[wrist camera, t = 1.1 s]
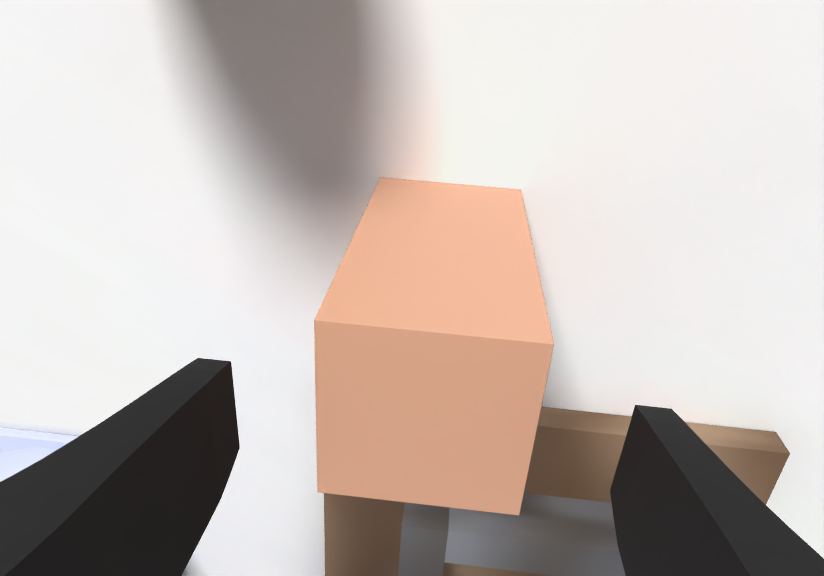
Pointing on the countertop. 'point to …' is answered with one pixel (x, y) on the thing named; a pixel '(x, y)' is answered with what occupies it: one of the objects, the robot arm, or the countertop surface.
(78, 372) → the countertop surface
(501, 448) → the peg
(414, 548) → the peg holder
